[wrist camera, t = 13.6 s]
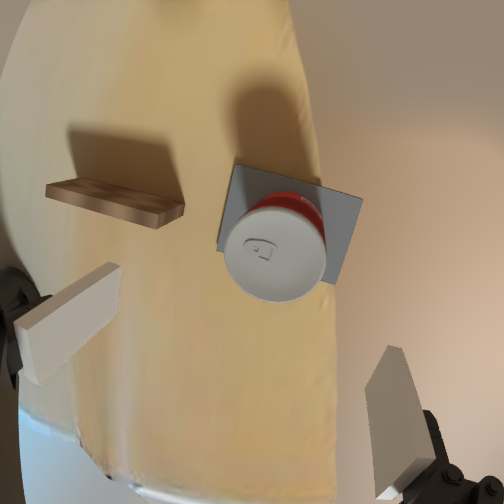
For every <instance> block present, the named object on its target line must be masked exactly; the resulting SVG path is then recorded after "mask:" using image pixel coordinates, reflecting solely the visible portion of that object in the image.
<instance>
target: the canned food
mask: <svg viewBox="0 0 504 504" xmlns="http://www.w3.org/2000/svg"><path fill="white" fill-rule="evenodd" d="M224 259H225V263H226V267H227V270H228V272H229V274H230V276H231V277H232V279H233V280H234V282H235V283H236V284H237V285H238V286H239V287H240V288H241V289H242V290H243V291H244V292H246V293H247V294H249V295H250V296H252V297H254V298H256V299H259V300H262V301H265V302H271V303H287V302H292V301H296V300H298V299H300V298H302V297H304V296H306V295H307V294H309V293H310V292H311V291H312V290H313V289H314V288H315V287H316V286H317V285H318V284H319V282H320V280H321V278H322V277H323V274H324V271H325V267H326V261H327V249H326V240H325V231H324V224H323V219H322V216H321V214H320V212H319V210H318V209H317V207H316V206H315V205H314V204H313V203H312V202H311V201H310V200H308V199H307V198H306V197H304V196H301V195H299V194H296V193H293V192H276V193H273V194H270V195H268V196H266V197H264V198H263V199H262V200H260V201H259V202H258V203H257V204H256V205H254V206H253V207H252V208H251V209H250V210H248V211H247V212H246V213H245V214H244V215H243V216H241V217H240V218H239V219H238V220H237V221H236V222H235V224H234V225H233V227H232V228H231V229H230V231H229V234H228V236H227V238H226V242H225V247H224Z"/></svg>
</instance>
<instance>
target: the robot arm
mask: <svg viewBox="0 0 504 504" xmlns="http://www.w3.org/2000/svg"><path fill="white" fill-rule="evenodd" d="M120 278H121V266H120V265H117V264H114V263H111V262H107V263H106V264H104V265H102V266H101V267H99V268H97V269H96V270H94V271H92V272H91V273H89V274H87V275H86V276H84V277H82V278H81V279H79V280H78V281H76V282H74V283H73V284H71V285H70V286H68V287H66V288H65V289H63V290H62V291H60V292H58V293H57V294H55V295H54V296H52V295H47V296H43V297H40V296H39V294H38V292H37V290H36V289H35V287H34V286H33V284H32V283H31V281H30V280H29V279H28V278H27V277H26V276H25V275H24V274H23V273H22V272H21V271H19V270H18V269H16V268H13V267H7V268H5V269H3V270H1V271H0V504H26V502H25V496H24V489H23V482H22V473H21V462H20V448H19V428H18V427H19V425H18V395H19V375H18V371H19V370H20V369H21V368H23V369H24V373H25V377H26V378H27V379H28V380H30V381H31V382H33V383H34V384H36V385H37V386H40V385H41V384H42V383H43V382H44V381H45V380H46V379H48V378H49V377H50V376H51V375H52V374H53V373H54V372H55V371H56V370H57V369H58V368H59V367H60V366H61V365H62V364H64V363H65V362H66V361H67V360H68V359H69V358H70V357H71V356H72V355H73V354H74V353H75V352H77V351H78V350H79V349H80V348H81V347H82V346H83V345H84V344H85V343H86V342H88V341H89V340H90V339H91V338H92V337H93V336H94V335H95V334H96V333H97V332H99V331H100V330H101V329H102V328H103V327H104V326H105V325H106V324H108V323H109V322H110V321H111V320H112V319H113V318H114V317H115V316H117V315H118V314H119V297H120ZM365 395H366V402H367V410H368V417H369V426H370V436H371V445H372V454H373V466H374V480H375V495H376V499H385V500H386V499H387V500H393V499H395V498H396V497H397V496H398V495H399V494H400V493H401V492H402V494H403V501H401V502H400V503H399V504H503V502H504V487H503V484H502V483H501V481H500V480H499V479H497V478H496V477H494V476H486V477H484V478H483V479H482V480H481V481H480V482H479V483H476V482H473V481H470V480H466V479H464V475H463V473H462V471H461V470H460V469H459V468H458V467H457V466H455V465H453V464H450V463H449V459H448V456H447V453H446V449H445V446H444V442H443V439H442V438H441V437H442V436H441V433H440V431H439V426H438V423H437V420H436V418H435V417H434V416H433V414H432V413H431V412H430V411H428V410H422V407H421V404H420V401H419V397H418V394H417V391H416V388H415V385H414V382H413V379H412V376H411V373H410V370H409V367H408V364H407V361H406V358H405V356H404V353H403V350H402V348H398V347H394V346H390V345H388V346H387V348H386V350H385V352H384V354H383V356H382V358H381V360H380V361H379V363H378V365H377V367H376V369H375V371H374V373H373V374H372V377H371V378H370V380H369V382H368V383H367V385H366V387H365Z"/></svg>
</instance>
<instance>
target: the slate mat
mask: <svg viewBox="0 0 504 504" xmlns="http://www.w3.org/2000/svg"><path fill="white" fill-rule="evenodd" d="M276 192H293V193H296V194H299V195H301V196H304V197H306V198H307V199H308V200H310V201H311V202H312V203H313V204H314V205H315V206H316V207H317V209H318V210H319V212H320V214H321V216H322V219H323V224H324V231H325V240H326V249H327V261H326V267H325V271H324V274H323V277H322V278H321V280H320V281H323V282H327V283H330V284H334V285H335V284H336V281H337V279H338V276H339V273H340V270H341V267H342V264H343V261H344V258H345V255H346V252H347V249H348V246H349V243H350V240H351V237H352V234H353V231H354V228H355V225H356V221H357V218H358V215H359V211H360V208H361V205H362V201H363V199H361V198H359V197H355V196H352V195H349V194H345V193H342V192H339V191H335V190H332V189H329V188H325V187H322V186H319V185H315V184H312V183H308V182H304V181H301V180H297V179H293V178H290V177H286V176H282V175H278V174H275V173H271V172H267V171H263V170H259V169H255V168H251V167H247V166H243V165H238V164H235V167H234V171H233V176H232V180H231V185H230V189H229V194H228V198H227V203H226V208H225V212H224V217H223V221H222V226H221V231H220V236H219V240H218V245H217V250H216V251H219V252H222V253H224V247H225V242H226V238H227V236H228V234H229V231H230V229H231V228H232V227H233V225H234V224H235V222H236V221H237V220H238V219H239V218H240V217H241V216H243V215H244V214H245V213H246V212H247V211H248V210H250V209H251V208H252V207H253V206H254V205H256V204H257V203H258V202H259V201H260V200H262V199H263V198H264V197H266V196H268V195H270V194H273V193H276Z"/></svg>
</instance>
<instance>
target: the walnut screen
mask: <svg viewBox="0 0 504 504" xmlns="http://www.w3.org/2000/svg"><path fill="white" fill-rule="evenodd" d="M45 197H48V198H51V199H54V200H58V201H61V202H64V203H68V204H71V205H75V206H78V207H81V208H85V209H88V210H92V211H95V212H98V213H102V214H105V215H108V216H112V217H115V218H119V219H122V220H126V221H129V222H132V223H136V224H139V225H143V226H146V227H149V228H153V229H158V228H160V227H162V226H164V225H166V224H168V223H169V222H171V221H173V220H175V219H177V218H179V217H181V216H183V213H184V207H185V203H182V202H179V201H175V200H171V199H167V198H163V197H159V196H155V195H151V194H147V193H143V192H139V191H135V190H131V189H127V188H123V187H119V186H114V185H110V184H106V183H102V182H98V181H94V180H89V179H85V178H76V179H71V180H66V181H61V182H56V183H51V184H47V185H46V194H45Z"/></svg>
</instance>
